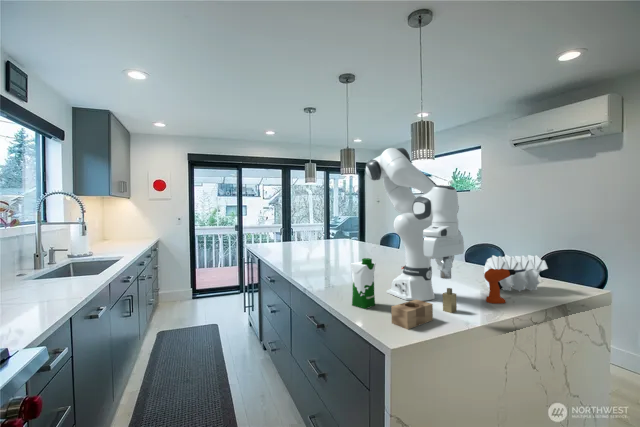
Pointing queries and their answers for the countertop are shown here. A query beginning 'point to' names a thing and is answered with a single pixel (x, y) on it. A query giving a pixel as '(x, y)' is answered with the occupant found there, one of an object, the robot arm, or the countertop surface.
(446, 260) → the cylinder
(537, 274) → the spiral staircase
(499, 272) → the toy drill
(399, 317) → the socket block
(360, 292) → the milk carton
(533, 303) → the countertop surface
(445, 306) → the square bit
